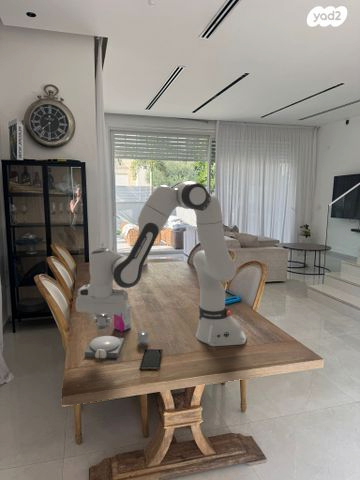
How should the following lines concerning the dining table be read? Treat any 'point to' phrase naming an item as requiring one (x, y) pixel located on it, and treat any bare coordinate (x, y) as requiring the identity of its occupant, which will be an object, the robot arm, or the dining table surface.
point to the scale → (104, 347)
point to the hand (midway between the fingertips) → (102, 322)
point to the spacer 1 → (102, 320)
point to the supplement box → (122, 321)
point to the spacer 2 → (143, 339)
